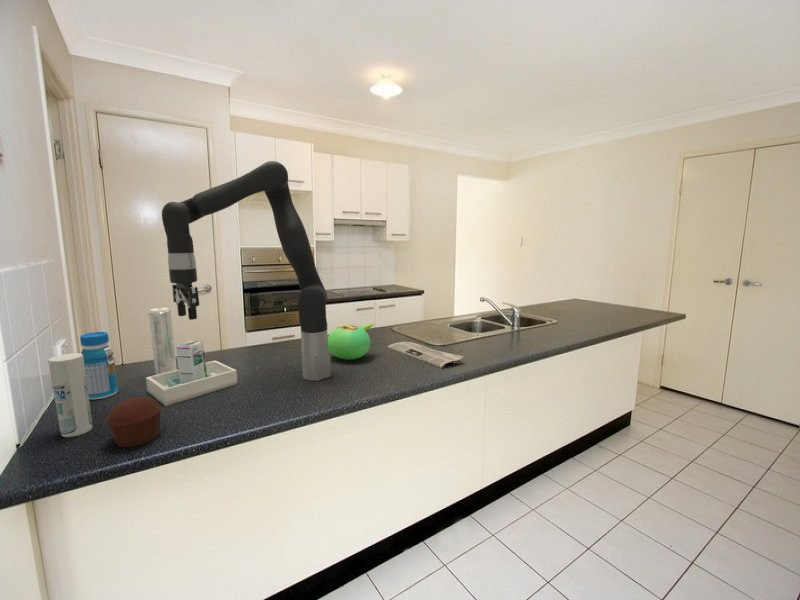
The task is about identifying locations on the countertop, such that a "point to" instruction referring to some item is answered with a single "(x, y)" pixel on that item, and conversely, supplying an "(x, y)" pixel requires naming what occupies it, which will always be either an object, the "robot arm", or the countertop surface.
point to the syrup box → (191, 361)
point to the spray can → (71, 394)
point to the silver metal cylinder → (162, 340)
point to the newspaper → (425, 353)
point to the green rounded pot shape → (349, 341)
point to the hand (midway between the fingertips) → (187, 317)
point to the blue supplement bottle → (99, 365)
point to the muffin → (134, 421)
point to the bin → (190, 383)
